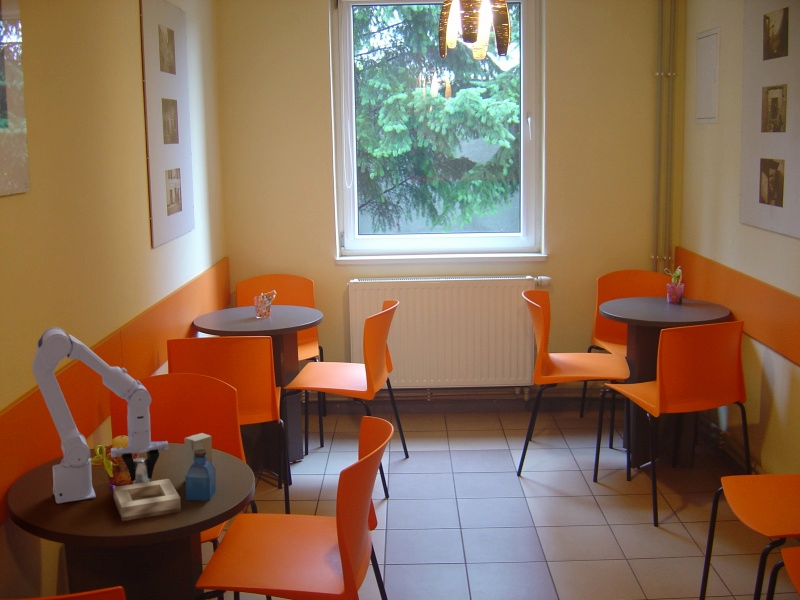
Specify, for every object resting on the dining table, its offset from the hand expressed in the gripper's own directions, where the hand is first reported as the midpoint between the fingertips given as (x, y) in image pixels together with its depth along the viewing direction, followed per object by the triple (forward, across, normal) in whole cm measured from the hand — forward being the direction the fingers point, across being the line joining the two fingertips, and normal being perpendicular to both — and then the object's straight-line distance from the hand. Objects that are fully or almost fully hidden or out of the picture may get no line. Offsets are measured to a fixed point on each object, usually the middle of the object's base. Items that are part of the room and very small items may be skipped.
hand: (141, 478), depth 228 cm
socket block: (+2, -1, -14) cm, 14 cm away
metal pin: (+2, 0, 0) cm, 2 cm away
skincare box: (+2, +15, -2) cm, 15 cm away
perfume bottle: (+2, +13, -13) cm, 19 cm away
